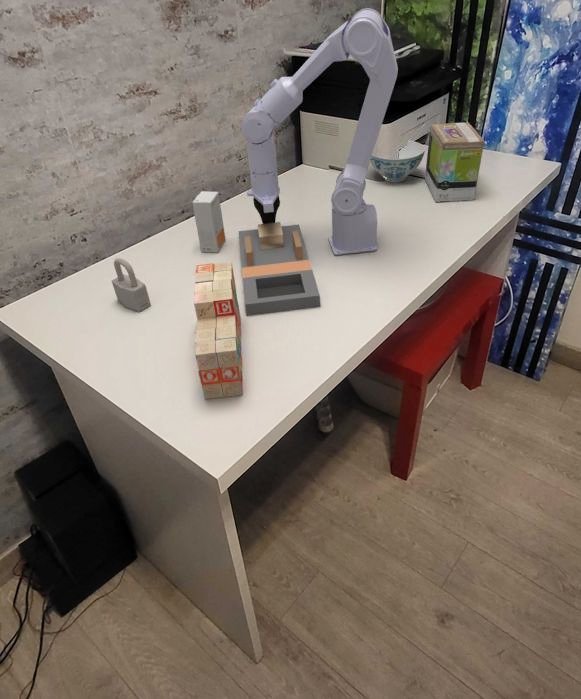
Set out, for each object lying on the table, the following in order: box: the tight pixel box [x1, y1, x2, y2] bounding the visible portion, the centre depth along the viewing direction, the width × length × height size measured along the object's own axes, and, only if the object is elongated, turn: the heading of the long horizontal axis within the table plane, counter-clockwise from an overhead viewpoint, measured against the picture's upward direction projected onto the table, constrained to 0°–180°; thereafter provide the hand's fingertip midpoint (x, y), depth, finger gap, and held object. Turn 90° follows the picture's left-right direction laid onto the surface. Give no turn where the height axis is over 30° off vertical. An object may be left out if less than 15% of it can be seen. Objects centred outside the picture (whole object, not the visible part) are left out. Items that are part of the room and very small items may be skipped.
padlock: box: [111, 257, 152, 313], centre depth 102 cm, size 7×4×10 cm, turn 51°
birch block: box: [257, 221, 284, 250], centre depth 115 cm, size 5×6×3 cm
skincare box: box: [192, 190, 227, 253], centre depth 117 cm, size 6×4×12 cm
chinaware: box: [370, 139, 426, 183], centre depth 143 cm, size 15×15×8 cm
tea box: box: [424, 122, 485, 203], centre depth 132 cm, size 15×10×15 cm
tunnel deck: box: [238, 224, 321, 316], centre depth 109 cm, size 14×30×6 cm, turn 7°
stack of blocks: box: [193, 261, 244, 400], centre depth 87 cm, size 21×6×12 cm, turn 6°
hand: (269, 229), depth 118 cm, fingers closed
